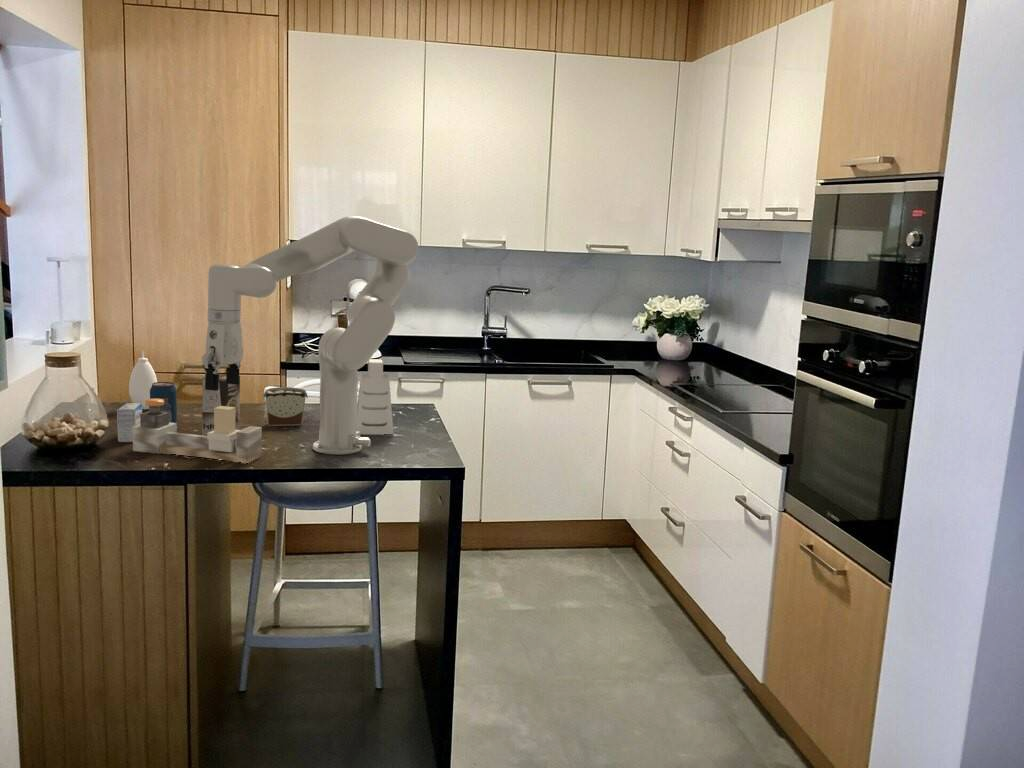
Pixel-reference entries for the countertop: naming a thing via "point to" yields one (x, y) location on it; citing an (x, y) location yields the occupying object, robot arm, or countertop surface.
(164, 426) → the slide rail
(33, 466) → the countertop surface
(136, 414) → the medicine box
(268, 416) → the food container
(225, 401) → the coffee box
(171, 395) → the soda can
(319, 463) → the countertop surface
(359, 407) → the grater
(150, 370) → the sauce bottle
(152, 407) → the button
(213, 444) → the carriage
